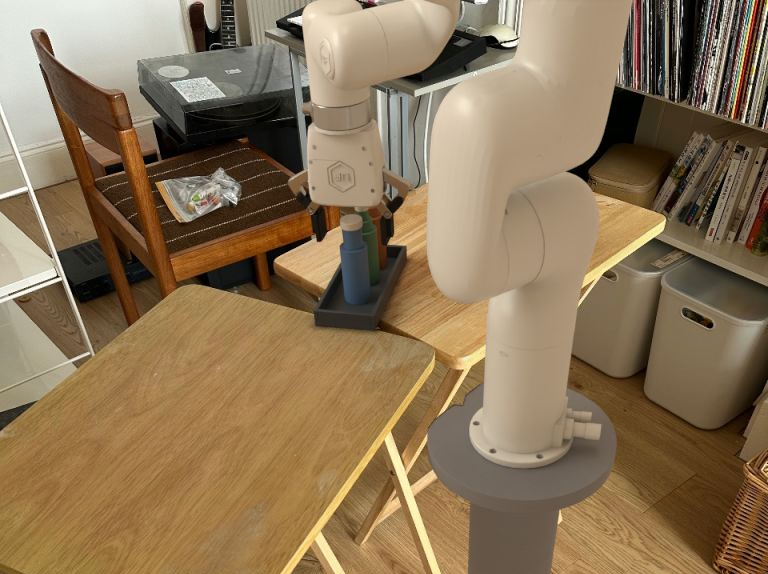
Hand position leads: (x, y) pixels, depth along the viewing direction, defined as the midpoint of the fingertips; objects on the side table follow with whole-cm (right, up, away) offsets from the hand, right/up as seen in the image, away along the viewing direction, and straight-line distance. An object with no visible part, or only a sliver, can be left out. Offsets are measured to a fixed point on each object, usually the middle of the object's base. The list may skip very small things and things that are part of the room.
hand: (354, 239), depth 114 cm
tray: (+1, -5, +9) cm, 11 cm away
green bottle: (+2, -3, +11) cm, 11 cm away
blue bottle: (0, -6, +7) cm, 10 cm away
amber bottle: (+3, +1, +14) cm, 14 cm away
